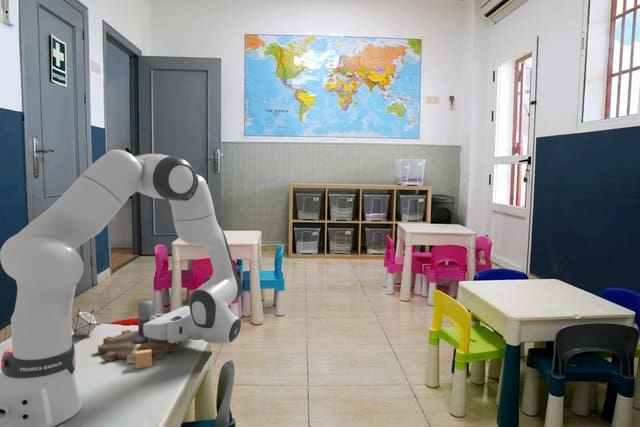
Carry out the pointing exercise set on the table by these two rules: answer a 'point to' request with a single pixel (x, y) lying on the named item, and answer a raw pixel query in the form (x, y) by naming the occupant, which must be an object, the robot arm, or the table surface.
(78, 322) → the game die
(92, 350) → the table surface
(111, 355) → the sprocket
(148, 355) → the orange wooden block
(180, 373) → the table surface
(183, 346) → the table surface
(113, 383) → the table surface
